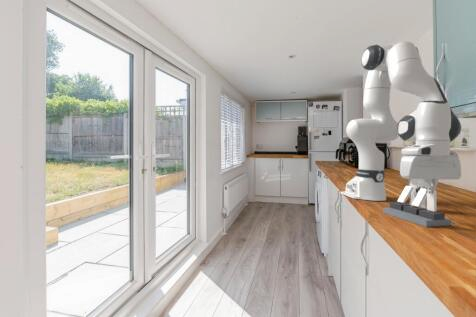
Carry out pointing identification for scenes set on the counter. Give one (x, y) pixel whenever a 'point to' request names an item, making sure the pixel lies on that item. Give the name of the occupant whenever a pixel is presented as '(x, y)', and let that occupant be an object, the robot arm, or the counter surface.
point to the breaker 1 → (405, 194)
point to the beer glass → (416, 190)
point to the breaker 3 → (431, 201)
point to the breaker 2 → (419, 198)
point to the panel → (417, 215)
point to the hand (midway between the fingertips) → (430, 193)
